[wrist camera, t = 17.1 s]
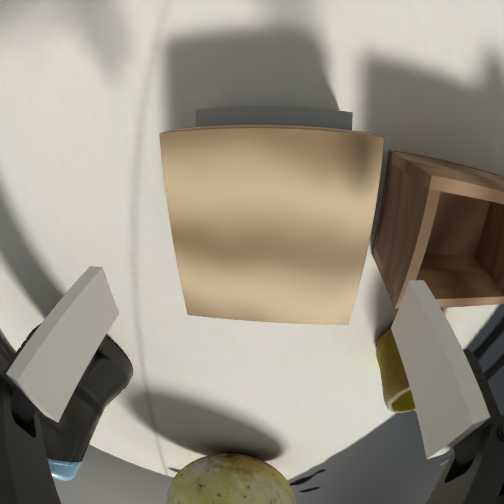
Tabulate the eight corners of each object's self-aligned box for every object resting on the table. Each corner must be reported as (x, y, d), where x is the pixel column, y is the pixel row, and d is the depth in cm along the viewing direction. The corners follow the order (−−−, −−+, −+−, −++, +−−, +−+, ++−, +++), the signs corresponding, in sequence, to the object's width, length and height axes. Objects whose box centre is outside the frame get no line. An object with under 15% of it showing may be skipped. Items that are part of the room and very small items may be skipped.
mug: (362, 326, 24) (411, 413, 16) (438, 287, 24) (489, 354, 17) (352, 374, 32) (382, 436, 24) (414, 342, 32) (447, 397, 25)
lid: (180, 127, 15) (159, 133, 12) (367, 131, 14) (384, 138, 11) (199, 288, 21) (187, 314, 18) (342, 296, 20) (348, 324, 17)
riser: (223, 270, 25) (213, 299, 21) (213, 108, 18) (195, 109, 14) (323, 276, 24) (328, 306, 20) (339, 110, 17) (352, 112, 13)
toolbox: (371, 254, 22) (413, 361, 12) (388, 150, 18) (478, 208, 8) (492, 260, 20) (547, 334, 11) (516, 181, 16) (593, 238, 6)
